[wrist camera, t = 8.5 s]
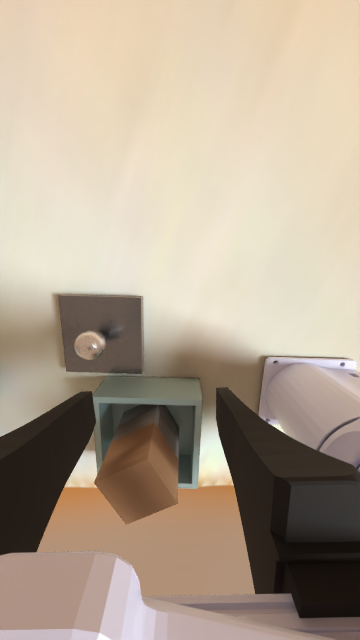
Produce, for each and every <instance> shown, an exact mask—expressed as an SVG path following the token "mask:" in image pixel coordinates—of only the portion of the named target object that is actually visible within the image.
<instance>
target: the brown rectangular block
mask: <svg viewBox="0 0 360 640" xmlns="http://www.w3.org/2000/svg"><path fill="white" fill-rule="evenodd" d="M178 465H179V426H178V424H177V423H176V421H175V420H174V418H173V416H172V415H171V413H170V412H169V410H168V408H167V407H166V405H155V404H140V405H138V406H136V407H134V408H132V409H130V410H128V411H126V412H124V413H123V415H122V418H121V420H120V423H119V425H118V427H117V430H116V432H115V434H114V437H113V439H112V442H111V444H110V446H109V449H108V451H107V453H106V456H105V458H104V460H103V463H102V465H101V468H100V470H99V472H98V475H97V477H96V479H95V482H94V483H95V485H96V486H97V487H98V489H99V490H100V491H101V492H102V494H103V495H104V496H105V498H106V499H107V500H108V502H109V503H110V504H111V505H112V507H113V508H114V509H115V510H116V512H117V513H118V515H119V516H120V517H121V518H122V520H123V521H124V522H125V524H129V523H131V522H134V521H136V520H139V519H141V518H144V517H146V516H149V515H151V514H153V513H156V512H158V511H161V510H163V509H165V508H168V507H170V506H173V505H176V504H178Z"/></svg>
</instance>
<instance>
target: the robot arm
mask: <svg viewBox="0 0 360 640" xmlns="http://www.w3.org/2000/svg"><path fill="white" fill-rule="evenodd" d="M275 360H277V362H276V363H273V362H274V361H275ZM341 363H342V364H341ZM340 364H341V365H340ZM356 365H357V363H356V361H354V360H352V359H330V358H295V357H268V358H266V360H265V365H264V373H263V381H262V389H261V397H260V405H259V413H258V415H257V414H255V413H254V412H253V411H252V410H251V409H249V408H248V407H247V406H246V405H245V404H244V403H243V402H242V401H240V400H239V399H238V398H237V397H236V396H235V395H234V394H233V393H232V392H231V391H230V390H229V389H228V388H227V387H226V388H216V420H217V426H218V432H219V437H220V440H221V443H222V447H223V450H224V453H225V457H226V460H227V463H228V466H229V470H230V473H231V476H232V480H233V484H234V488H235V492H236V497H237V502H238V506H239V511H240V516H241V521H242V526H243V531H244V536H245V541H246V546H247V552H248V557H249V562H250V567H251V573H252V578H253V584H254V589H255V594H242V595H196V596H195V595H193V596H192V595H190V596H143V597H142V596H141V591H140V582H139V579H138V577H137V575H136V573H135V571H134V569H133V567H132V565H131V564H130V563H129V562H128V561H126V560H124V559H123V558H121V557H120V556H118V555H116V554H112V553H105V552H100V551H80V552H37V549H38V547H39V544H40V541H41V539H42V537H43V534H44V531H45V529H46V527H47V525H48V522H49V520H50V517H51V515H52V513H53V510H54V508H55V506H56V503H57V501H58V499H59V496H60V494H61V492H62V490H63V488H64V486H65V484H66V482H67V480H68V478H69V477H70V475H71V473H72V471H73V469H74V467H75V466H76V464H77V462H78V460H79V458H80V456H81V455H82V453H83V451H84V449H85V447H86V445H87V443H88V442H89V440H90V437H91V435H92V432H93V430H94V427H95V424H96V417H95V410H94V403H93V396H92V391H89V392H80V393H78V394H76V395H74V396H73V397H71V398H69V399H68V400H66V401H64V402H63V403H61V404H60V405H58V406H56V407H55V408H53V409H51V410H50V411H48V412H46V413H45V414H43V415H41V416H40V417H38V418H36V419H34V420H33V421H31V422H29V423H27V424H25V425H24V426H22V427H20V428H18V429H16V430H14V431H12V432H10V433H8V434H6V435H4V436H1V437H0V640H360V372H358V371H356ZM266 419H268V420H266ZM270 424H280V426H281V427H282V429H283V430H284V432H285V433H286V434H284V433H283V432H281V431H280V430H278V429H276V428H275V427H273V426H272V425H270Z"/></svg>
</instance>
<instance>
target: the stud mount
mask: <svg viewBox="0 0 360 640" xmlns="http://www.w3.org/2000/svg"><path fill="white" fill-rule="evenodd" d="M58 296H59V305H60V315H61V325H62V335H63V344H64V354H65V364H66V371H67V372H101V373H135V374H142V373H143V370H144V337H143V297H142V296H106V295H70V294H63V295H58Z"/></svg>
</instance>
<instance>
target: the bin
mask: <svg viewBox="0 0 360 640" xmlns="http://www.w3.org/2000/svg"><path fill="white" fill-rule="evenodd" d="M202 401H203V400H202V393H201V387H200V381H199V378H164V377H130V376H107V377H106V378H105V379H104V381H103V382H102V383H101V385H100V386H99V387H98V389H97V390H96V392H95V393H94V394H93V403H94V410H95V417H96V424H95V427H94V435H95V449H96V462H97V475H98V472H99V470H100V468H101V465H102V463H103V460H104V458H105V456H106V453H107V451H108V449H109V446H110V444H111V442H112V439H113V437H114V434H115V432H116V430H117V427H118V425H119V423H120V420H121V418H122V415H123V413H124V412H126V411H128V410H130V409H132V408H134V407H136V406H138V405H140V404H155V405H166V407H167V408H168V410H169V412H170V413H171V415H172V416H173V418H174V420H175V421H176V423H177V424H178V426H179V465H178V488H190V489H198V472H199V455H200V437H201V419H202Z"/></svg>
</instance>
